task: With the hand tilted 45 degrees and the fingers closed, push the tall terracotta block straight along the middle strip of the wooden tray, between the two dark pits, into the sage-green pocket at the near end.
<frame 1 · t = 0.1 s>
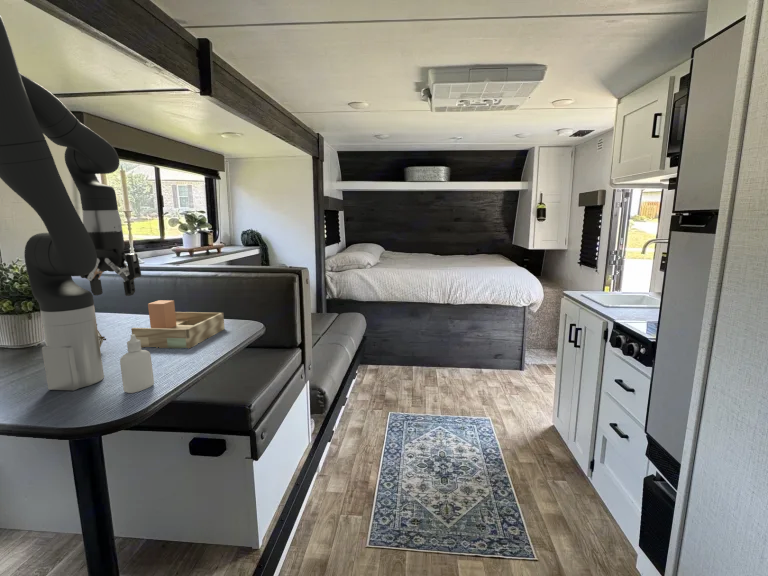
hand: (114, 295, 100), 17 cm above the table, tool pointing down, fingers open, 8 cm apart
eye dropper bottle: (139, 389, 86), on the table
terracotta block: (163, 327, 123), point 3 cm above the table, touching wooden tray
wooden tray: (182, 337, 123), on the table
game die: (88, 355, 108), on the table
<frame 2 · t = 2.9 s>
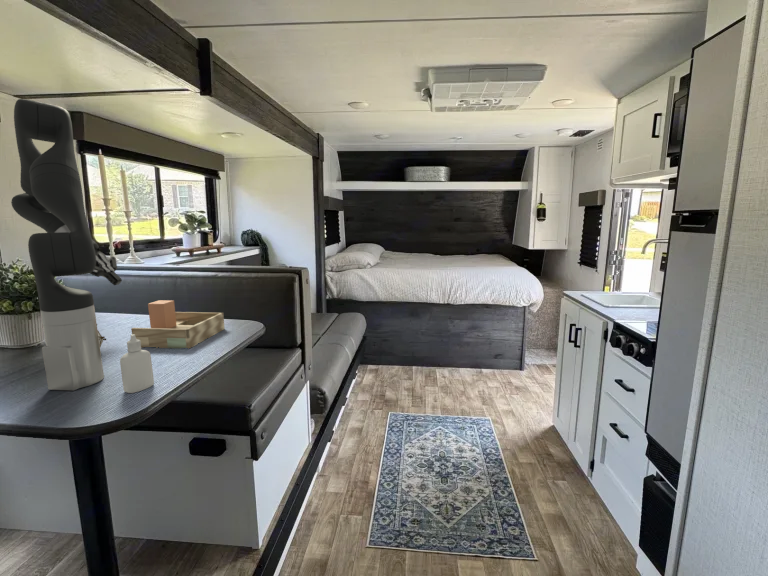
hand: (118, 283, 122), 17 cm above the table, tool tilted 45°, fingers closed
nothing on the table moved.
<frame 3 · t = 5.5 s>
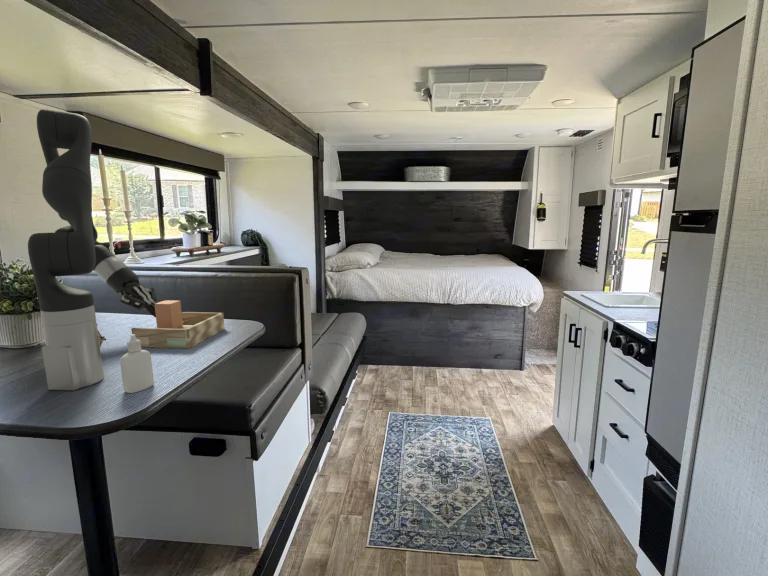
hand: (159, 314, 122), 7 cm above the table, tool tilted 45°, fingers closed
terracotta block: (170, 327, 123), point 3 cm above the table, touching gripper, wooden tray
everything else where it was.
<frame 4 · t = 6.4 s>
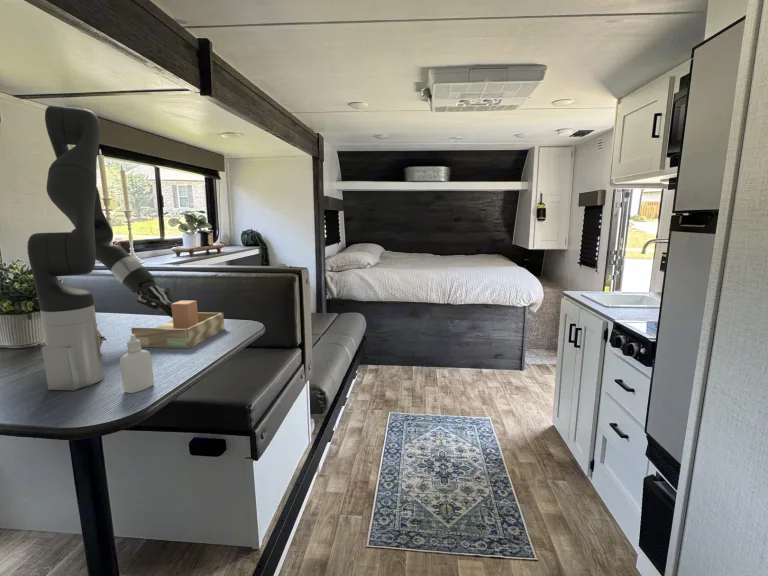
hand: (175, 315, 122), 7 cm above the table, tool tilted 45°, fingers closed
terracotta block: (186, 327, 122), point 3 cm above the table
everything else where it was.
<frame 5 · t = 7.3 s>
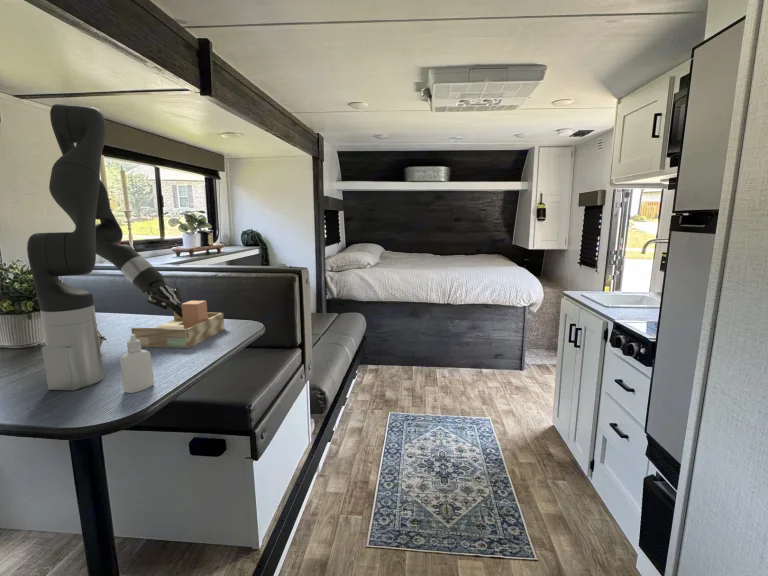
hand: (185, 315, 121), 7 cm above the table, tool tilted 45°, fingers closed
terracotta block: (196, 328, 122), point 3 cm above the table, touching gripper, wooden tray
everything else where it was.
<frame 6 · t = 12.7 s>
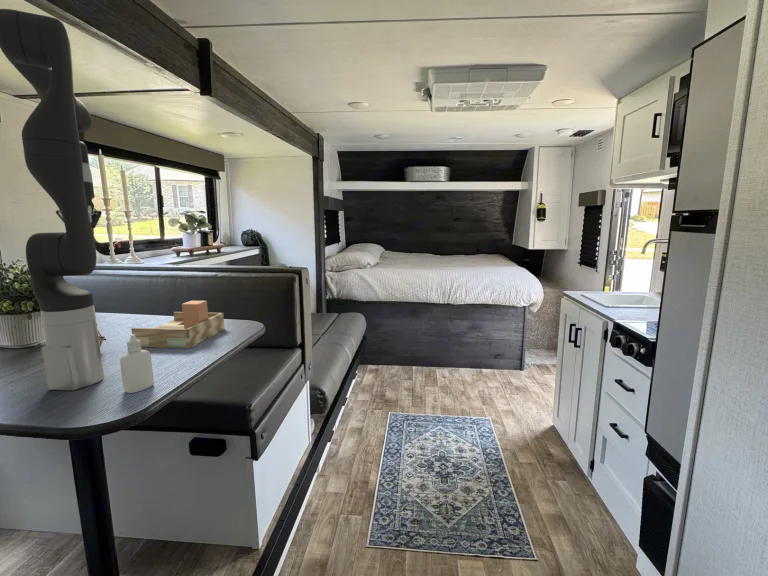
hand: (84, 244, 112), 29 cm above the table, tool pointing down, fingers closed
terracotta block: (196, 328, 122), point 3 cm above the table, touching wooden tray
everything else where it was.
at the end: terracotta block 0.4 cm from the target spot on the wooden tray, point 3.0 cm above the wooden tray's base; terracotta block tilted 0°; the gripper is holding nothing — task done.
